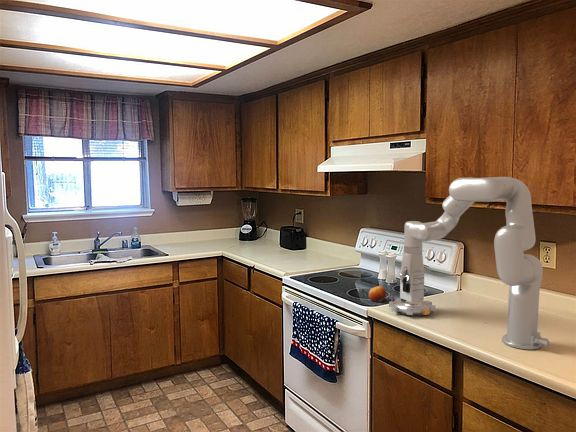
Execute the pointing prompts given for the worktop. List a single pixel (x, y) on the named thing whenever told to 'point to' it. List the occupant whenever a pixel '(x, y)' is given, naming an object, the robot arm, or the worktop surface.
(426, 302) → the silver knobbed tray
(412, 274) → the supplement box
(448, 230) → the robot arm
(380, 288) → the fruit
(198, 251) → the worktop surface
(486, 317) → the worktop surface
